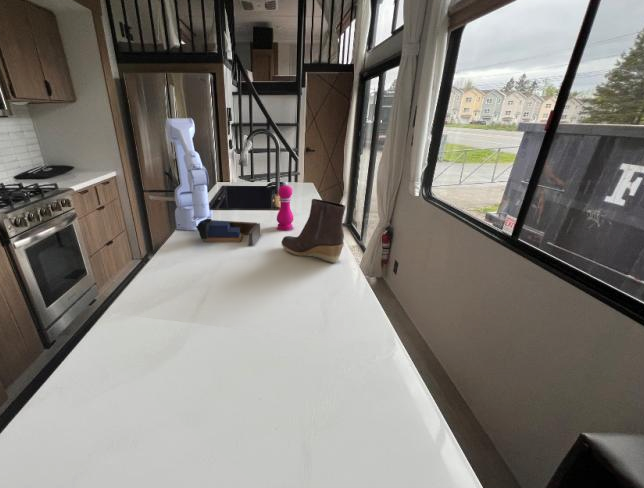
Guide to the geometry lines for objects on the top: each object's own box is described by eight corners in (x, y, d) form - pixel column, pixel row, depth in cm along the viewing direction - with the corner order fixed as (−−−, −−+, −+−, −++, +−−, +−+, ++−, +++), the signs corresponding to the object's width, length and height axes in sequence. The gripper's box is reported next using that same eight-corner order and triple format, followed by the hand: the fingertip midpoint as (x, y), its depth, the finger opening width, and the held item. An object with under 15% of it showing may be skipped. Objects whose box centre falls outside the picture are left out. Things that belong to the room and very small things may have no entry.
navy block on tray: (190, 241, 128) (188, 229, 125) (203, 230, 139) (202, 219, 137) (252, 245, 123) (252, 233, 120) (260, 234, 134) (260, 222, 132)
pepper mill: (274, 230, 138) (274, 183, 129) (279, 225, 144) (279, 179, 136) (291, 231, 136) (291, 183, 127) (295, 226, 142) (295, 180, 134)
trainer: (204, 241, 127) (202, 225, 124) (207, 236, 133) (206, 221, 130) (239, 241, 127) (239, 225, 124) (241, 236, 132) (240, 221, 129)
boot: (289, 243, 124) (290, 191, 116) (347, 258, 111) (353, 200, 102) (276, 250, 118) (276, 195, 109) (336, 267, 105) (341, 206, 96)
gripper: (203, 209, 110) (206, 246, 116) (218, 199, 123) (221, 232, 129) (183, 208, 112) (188, 244, 118) (200, 198, 125) (204, 231, 130)
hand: (204, 238), depth 124 cm, fingers closed
